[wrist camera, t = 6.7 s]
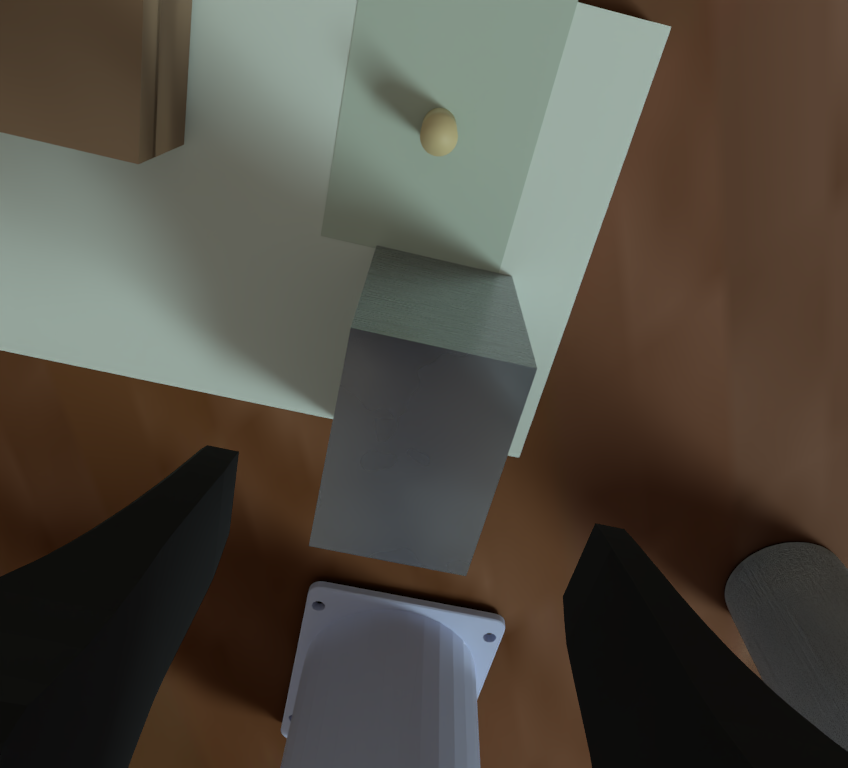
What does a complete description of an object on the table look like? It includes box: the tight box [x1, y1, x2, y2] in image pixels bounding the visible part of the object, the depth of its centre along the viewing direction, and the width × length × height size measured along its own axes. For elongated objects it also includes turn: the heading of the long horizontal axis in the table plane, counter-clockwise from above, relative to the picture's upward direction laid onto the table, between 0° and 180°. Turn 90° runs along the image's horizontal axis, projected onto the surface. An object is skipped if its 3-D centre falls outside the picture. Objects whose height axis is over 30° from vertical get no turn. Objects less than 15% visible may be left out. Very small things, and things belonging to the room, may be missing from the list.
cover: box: [0, 0, 192, 164], centre depth 15 cm, size 5×5×3 cm
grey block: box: [309, 245, 537, 576], centre depth 18 cm, size 6×4×6 cm, turn 167°
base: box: [0, 0, 671, 458], centre depth 18 cm, size 13×17×3 cm
